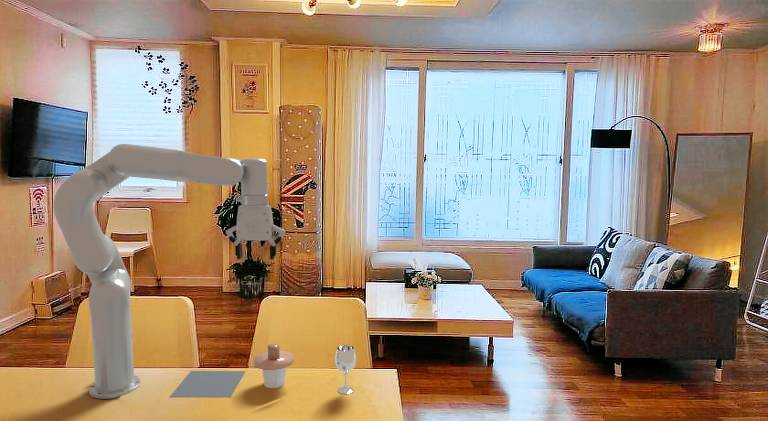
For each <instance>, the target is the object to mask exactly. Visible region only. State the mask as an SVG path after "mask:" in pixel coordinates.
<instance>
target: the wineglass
mask: <svg viewBox="0 0 768 421" xmlns="http://www.w3.org/2000/svg"><path fill="white" fill-rule="evenodd" d="M355 351H356V350H355V347H354V346H353V345H349V344H342V345H338V346H337V347H336V351H335V355H334V356H335V357H334V364H335V367H336V368H337V370H339V371H342V372H343V377H344V385H343V386H340V387H337V392H338V393H340V394H343V395H345V394H346V395H347V394H351V393H353V392H354V391H355V390H354V387H352V386H350V385H347V378H348V372H350V371H351V370H353V369H355V366H356V365H357V364H356V363H357V355H356V352H355Z"/></svg>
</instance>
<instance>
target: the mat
mask: <svg viewBox="0 0 768 421" xmlns="http://www.w3.org/2000/svg"><path fill="white" fill-rule="evenodd" d="M245 373H246V370H190V371H189V373H188V374H187V375H186V376H185V378H183V380H182V381H181V382H180V383H179V385H178V386H177V387H176V388H175V390H174V391H173V392H172V393H171V394H170V396H169V398H231V397H232V396H233V394H234V392H235V391H236V389H237V387H238V385H239V383H240V382H241V380H242V379H243V377H244V375H245Z"/></svg>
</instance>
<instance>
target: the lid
mask: <svg viewBox="0 0 768 421" xmlns="http://www.w3.org/2000/svg"><path fill="white" fill-rule="evenodd" d="M280 347H281V346H280V344H279V343H271V344H268V345H267V351H264V352H260V353H258V354H257V355H255V356H254V357H253V360H252V361H253V366H254V367H255V368H257V369H259V370H262V369H263V370H277V369H282V368H286V369H287V368H288V367H290V366H292V364H294V361H295V355H294V354H293V353H292V352H289V351H287V350H281V349H280ZM263 370H262V371H263Z"/></svg>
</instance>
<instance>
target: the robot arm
mask: <svg viewBox="0 0 768 421" xmlns="http://www.w3.org/2000/svg"><path fill="white" fill-rule="evenodd" d="M268 167H269V166H268V161H267V160H266V159H265V158H259V157H258V158H254V157H253V158H249V157H248V158H244V159H242V158H233V157H219V156H211V155H203V154H196V153H192V152H188V151H187V152H186V151H183V150H178V149H173V148H164V147H154V146H145V145H137V144H130V143H120V144H117V145H115V146H113V147H112V148H111V150H110V151H109V152H107V153H106V154H105V155H103V156H101V157H100V158H99V159H97V160H95V161H94V162H92V163H91V164H88V165H87V166H86V167H84V168H83V169H81V170H78V171H75V172H74V173H72V174H71V175H70V176H68V177H67V178H66V179H65V180H64V181H63V182H62V183H61V184H60V186H59V187H58V188H57V190H56V192H55V194H54V199H53V203H52V204H53V212H54V216H55V219H56V222H57V224H58V226H59V228H60V231H61V233H62V235H63V238H64V241H65V243H66V246H67V247H68V249H69V252H70V255H71V257H72V259H73V261H74V264H75V265H76V267H77V269H79V270H80V271H81V272H83V273H84V274H86V276H88V279H89V282H90V284H91V286H90V289H89V293H88V307H89V315H90V324H91V337H92V338H91V340H92V352H93V355H92V356H93V369H94V372H93V373H94V383H92V384H91V385H90V386H89V388H88V393H89V394H88V395H89V396H91V398H95V399H100V400H101V399H102V400H103V399H104V400H106V399H107V400H108V399H117V398H120V397H121V396H124V395H126V394H129V393H131V392H133V391H135V390H137V389H138V388H139V387H140V385H141V384H142V382H141V378H139V376H137V375H135V366H134V364H135V363H134V345H133V343H134V342H133V328H132V327H133V326H132V313H131V312H132V311H131V291H132V280H131V276H130V275H129V273H128V270H127V268H126V266H125V263H124V260H123V258H122V256H121V254H120V252H119V250H118V248H117V246H116V243H115V241H113V239H112V238H110V237H109V236H108V235H106V234H104V232H103V230H102V227H100V224H99V221H98V218H97V217H96V214H95V212H94V210H93V208H94V207H93V206H94V203H95V202H96V201H98V200H99V199H100V198H102V197H103V196H104V195H106V194H107V193H108V192H110V191H112V189H115V188H116V187H117V186H119V185H120V184H122V183H124V181H126V180H127V179H129V178H130V177H131V178H139V179H154V180H161V181H170V182H171V181H172V182H178V183H181V182H182V183H196V184H197V183H198V184H207V185H214V186H215V185H216V186H224V187H225V186H227V187H229V186H235V185H237V184H239V183H241V185H240V187H241V188H240V189H241V192H240V193H241V194H240V196H237V197H236V201H237V202H240V204H241V205H238V207H237V209H238V210H237V216H236V225H234V226H232V227H231V228H228V229H227V230H225V234H226V236H227V237H228V240H229V241H230V242H231V243H232V244H233V246H234V248H235V250H234V251H235V252H234V253H235V257H236V260H240V259H242V258H243V244H242V241H268V243H269V244H270V246H269V260H274V259H275V258H276V257H277V245H278V243H280V242H281V241H282V240H283V238H284V236H285V234H286V230H285V229H282V228H281V227H279V226H277V225H275V224H274V218H273V212H272V207H271V204H269V176H268V175H269V172H268V171H269V170H268V169H269V168H268ZM235 231H236V232H235ZM233 232H235V233H236V237H235V236H234V234H233ZM274 232H276V233H278V235H277V238H275V236H274Z"/></svg>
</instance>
